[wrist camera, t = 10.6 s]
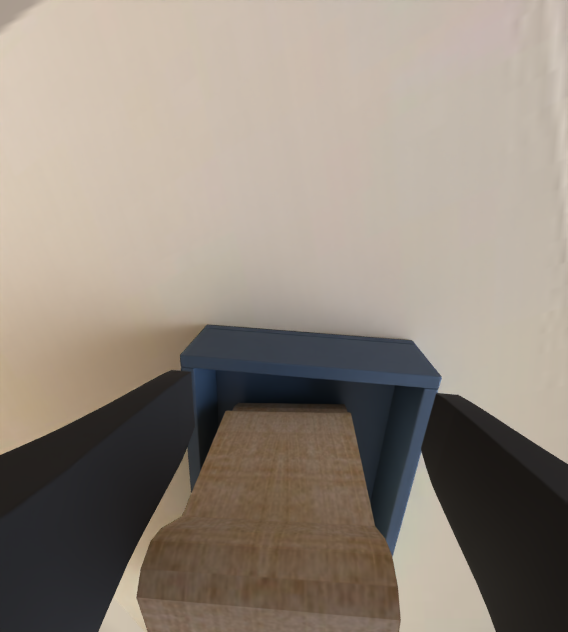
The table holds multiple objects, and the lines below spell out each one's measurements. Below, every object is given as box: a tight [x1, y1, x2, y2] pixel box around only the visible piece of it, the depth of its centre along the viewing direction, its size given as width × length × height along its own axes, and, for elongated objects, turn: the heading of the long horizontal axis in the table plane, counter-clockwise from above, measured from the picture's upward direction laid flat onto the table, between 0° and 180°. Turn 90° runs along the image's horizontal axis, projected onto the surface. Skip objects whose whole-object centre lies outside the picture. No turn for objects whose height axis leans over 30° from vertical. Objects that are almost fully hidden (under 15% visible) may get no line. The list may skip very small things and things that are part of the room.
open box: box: [180, 325, 442, 556], centre depth 17 cm, size 20×11×4 cm, turn 177°
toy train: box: [136, 403, 401, 632], centre depth 13 cm, size 6×17×10 cm, turn 2°
